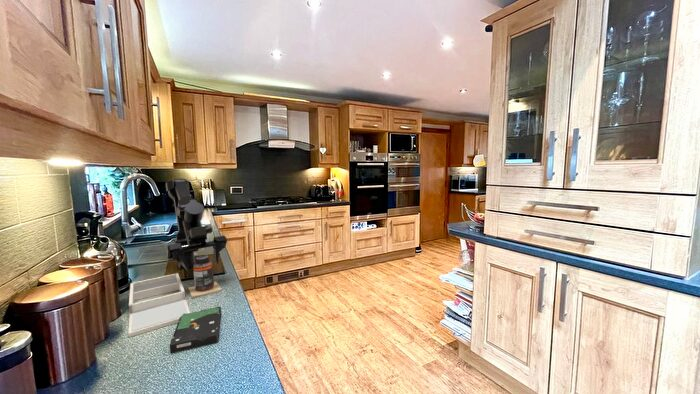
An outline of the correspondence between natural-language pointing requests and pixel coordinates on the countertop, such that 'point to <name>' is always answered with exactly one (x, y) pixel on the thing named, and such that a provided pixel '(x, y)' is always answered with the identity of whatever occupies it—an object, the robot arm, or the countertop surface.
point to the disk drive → (196, 329)
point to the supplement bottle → (203, 273)
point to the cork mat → (196, 293)
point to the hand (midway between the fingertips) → (203, 267)
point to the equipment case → (156, 304)
